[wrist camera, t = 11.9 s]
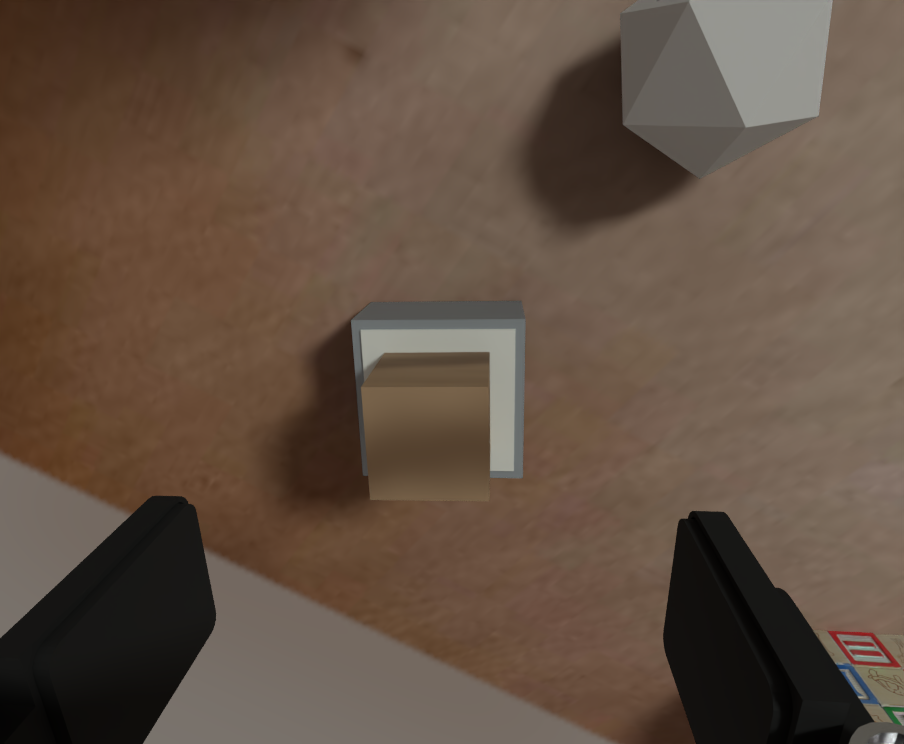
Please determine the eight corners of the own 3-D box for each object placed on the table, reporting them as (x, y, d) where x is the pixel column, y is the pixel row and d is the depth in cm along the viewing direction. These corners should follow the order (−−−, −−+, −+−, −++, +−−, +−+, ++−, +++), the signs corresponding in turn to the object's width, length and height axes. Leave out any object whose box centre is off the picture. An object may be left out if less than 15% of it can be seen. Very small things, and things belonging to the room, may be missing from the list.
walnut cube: (384, 352, 30) (360, 387, 25) (489, 351, 29) (488, 387, 24) (390, 448, 32) (370, 499, 26) (490, 449, 31) (489, 501, 26)
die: (792, -15, 29) (762, -179, 21) (869, 134, 26) (868, 18, 18) (633, 89, 33) (557, -11, 25) (687, 224, 31) (623, 162, 23)
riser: (371, 302, 34) (350, 320, 30) (521, 301, 34) (525, 319, 29) (380, 439, 37) (362, 477, 32) (519, 440, 36) (522, 479, 32)
